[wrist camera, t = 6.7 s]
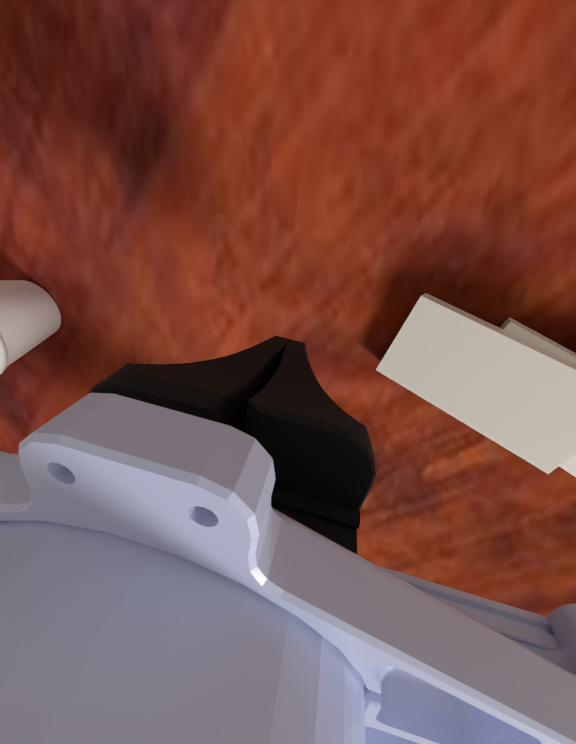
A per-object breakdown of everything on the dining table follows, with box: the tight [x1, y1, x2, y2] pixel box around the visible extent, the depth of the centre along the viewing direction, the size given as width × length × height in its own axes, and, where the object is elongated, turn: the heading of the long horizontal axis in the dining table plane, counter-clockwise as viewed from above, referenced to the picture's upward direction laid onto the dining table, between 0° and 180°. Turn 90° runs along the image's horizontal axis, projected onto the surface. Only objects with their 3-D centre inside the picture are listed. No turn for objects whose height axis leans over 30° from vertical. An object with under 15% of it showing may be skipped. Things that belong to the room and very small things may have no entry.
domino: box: [376, 293, 576, 474], centre depth 15 cm, size 2×5×10 cm
